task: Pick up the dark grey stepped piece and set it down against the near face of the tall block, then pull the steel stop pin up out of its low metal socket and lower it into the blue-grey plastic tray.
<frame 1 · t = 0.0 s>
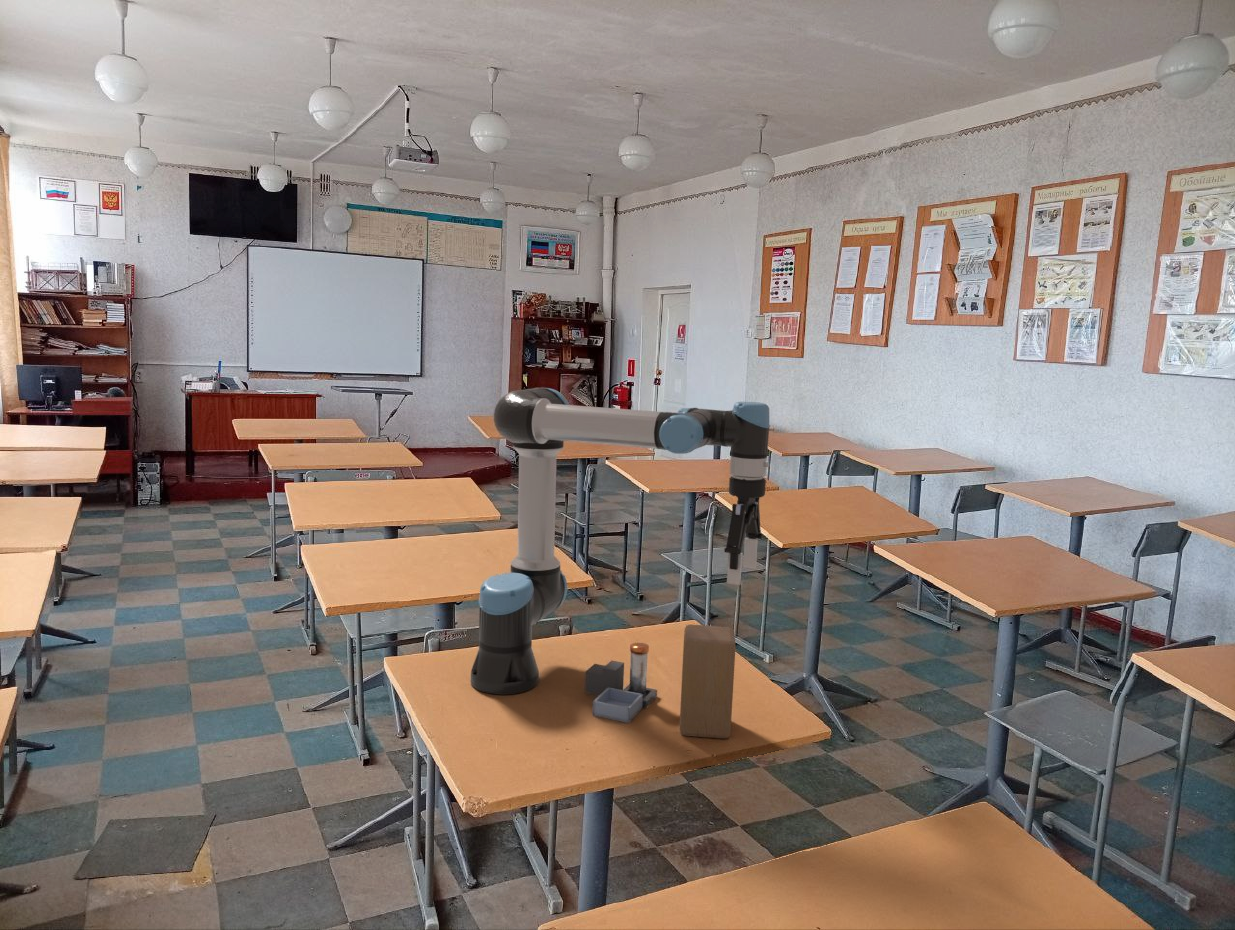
hand: (741, 575, 184), 28 cm above the table, fingers open, 13 cm apart
pin: (638, 672, 186), in the socket
tray: (617, 711, 181), on the table
socket: (637, 699, 187), on the table
block: (704, 728, 175), on the table
dark grey stepped piece: (604, 691, 190), on the table
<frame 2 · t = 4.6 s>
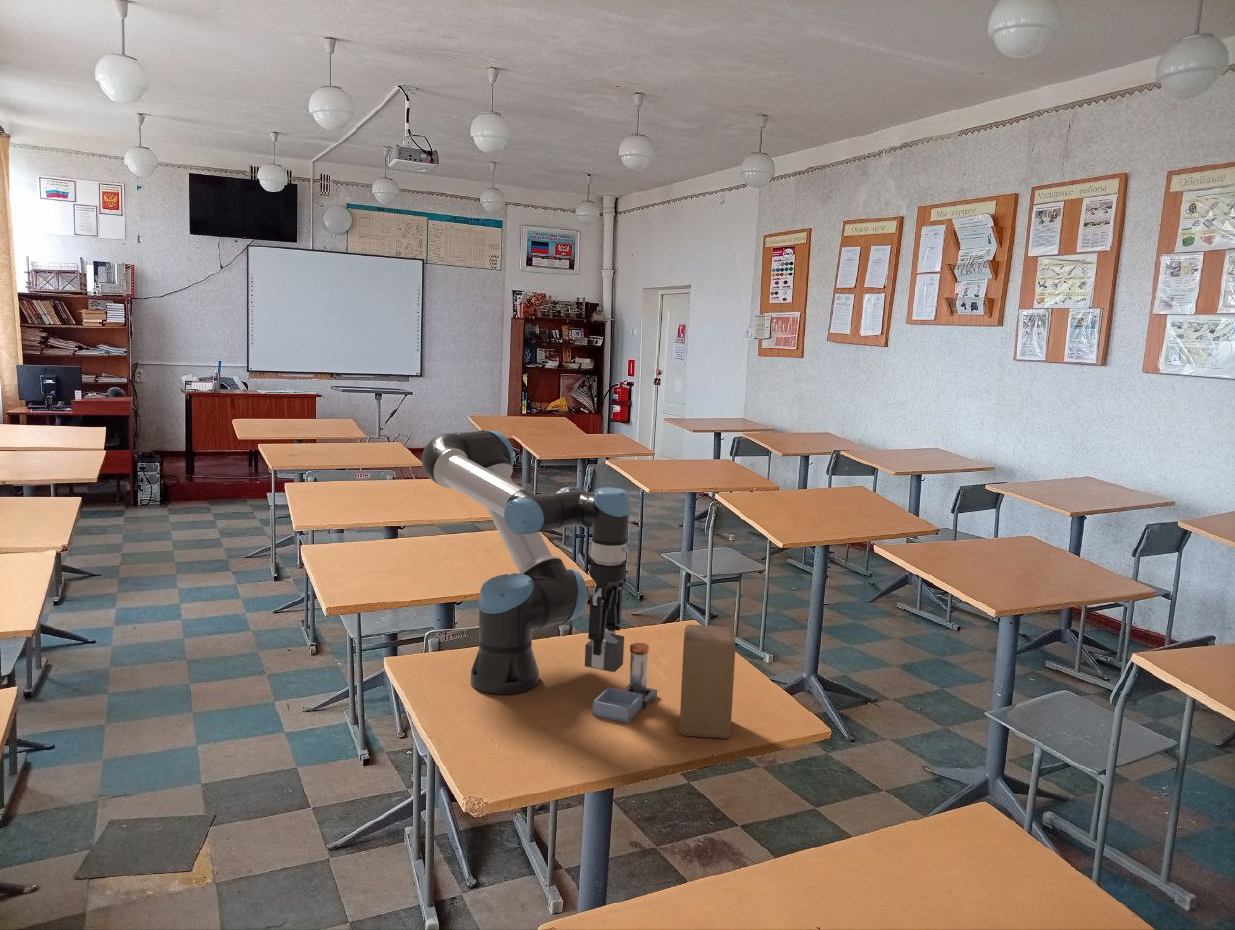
hand: (602, 662, 190), 6 cm above the table, fingers closed on dark grey stepped piece, 5 cm apart
dark grey stepped piece: (603, 665, 190), point 6 cm above the table, touching gripper
everything else where it was.
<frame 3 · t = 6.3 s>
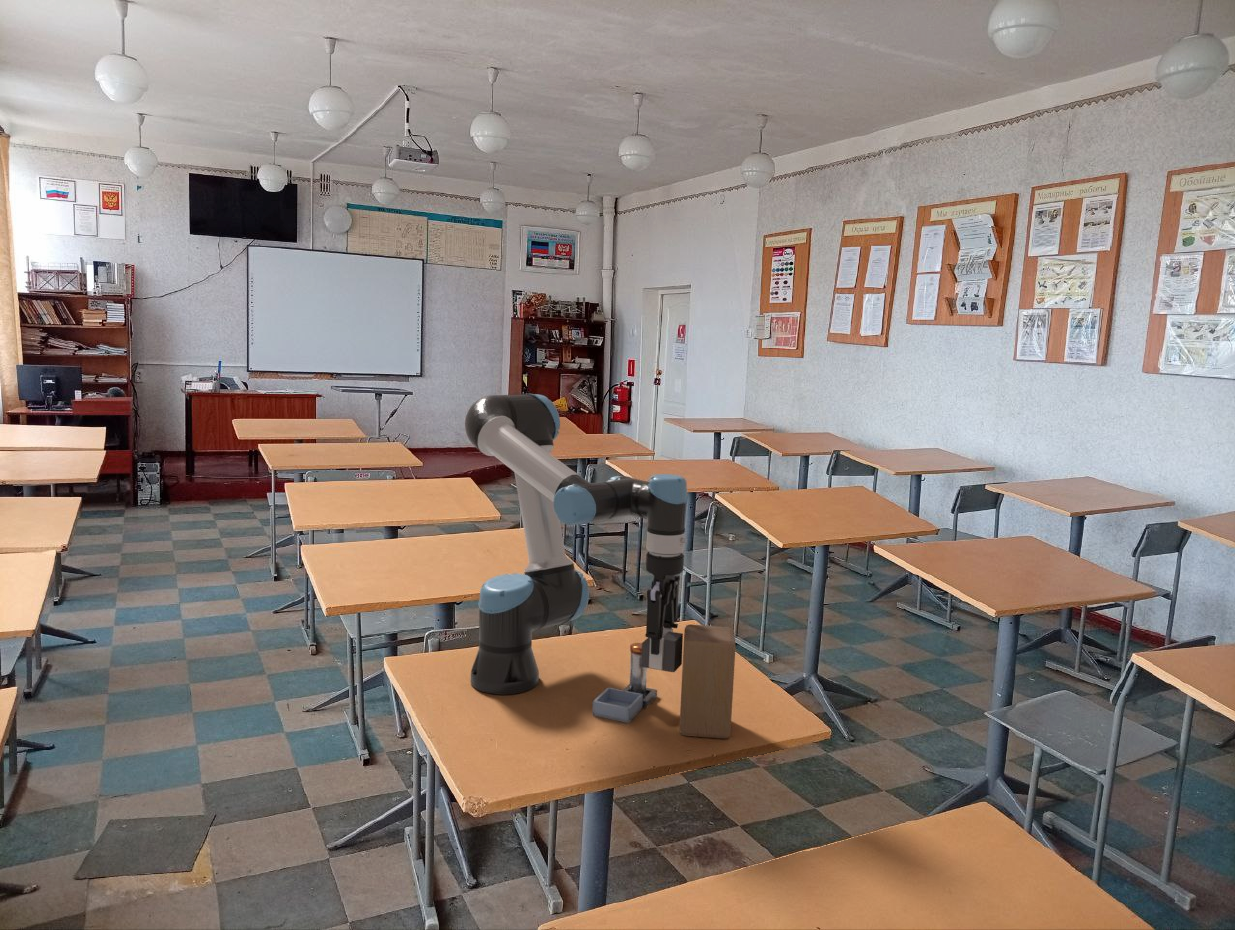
hand: (660, 663, 177), 12 cm above the table, fingers closed on dark grey stepped piece, 5 cm apart
dark grey stepped piece: (661, 665, 177), point 11 cm above the table, touching gripper
everything else where it was.
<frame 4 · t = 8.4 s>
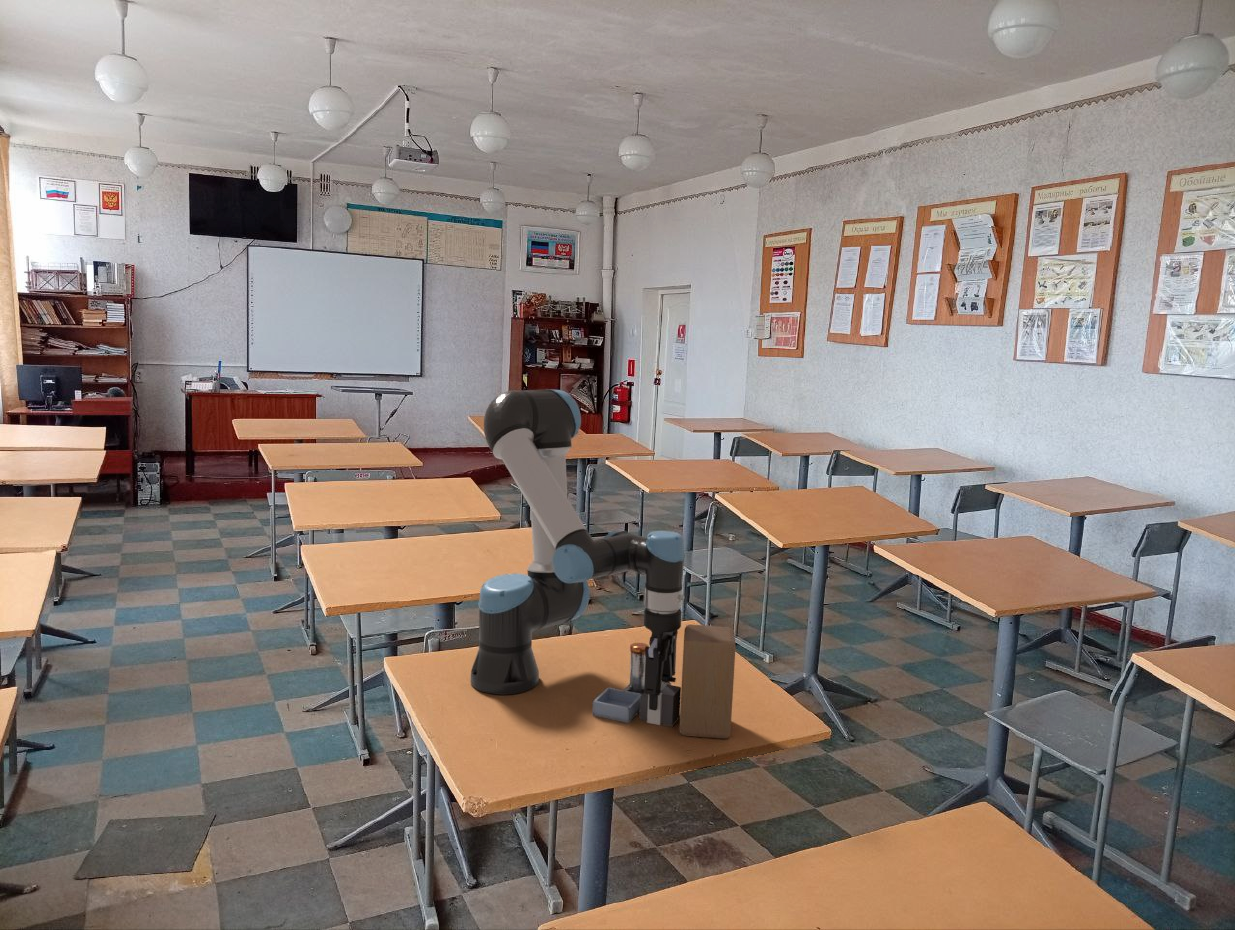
hand: (658, 717, 178), 0 cm above the table, fingers open, 5 cm apart
dark grey stepped piece: (659, 718, 178), on the table, touching gripper
everything else where it was.
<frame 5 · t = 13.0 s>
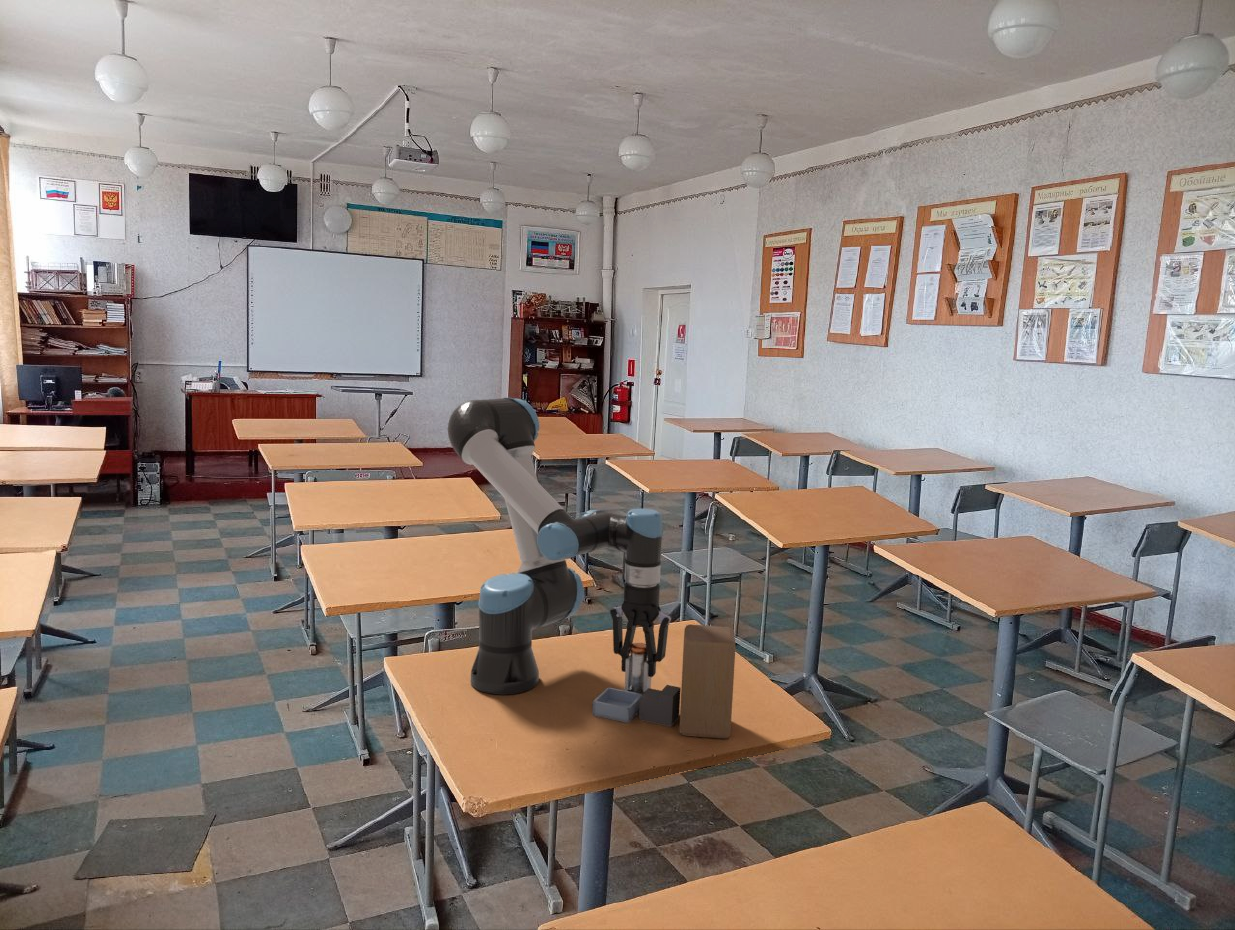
hand: (637, 687, 187), 3 cm above the table, fingers closed on pin, 3 cm apart
pin: (638, 672, 186), in the socket, touching gripper
dark grey stepped piece: (659, 718, 178), on the table
everything else where it was.
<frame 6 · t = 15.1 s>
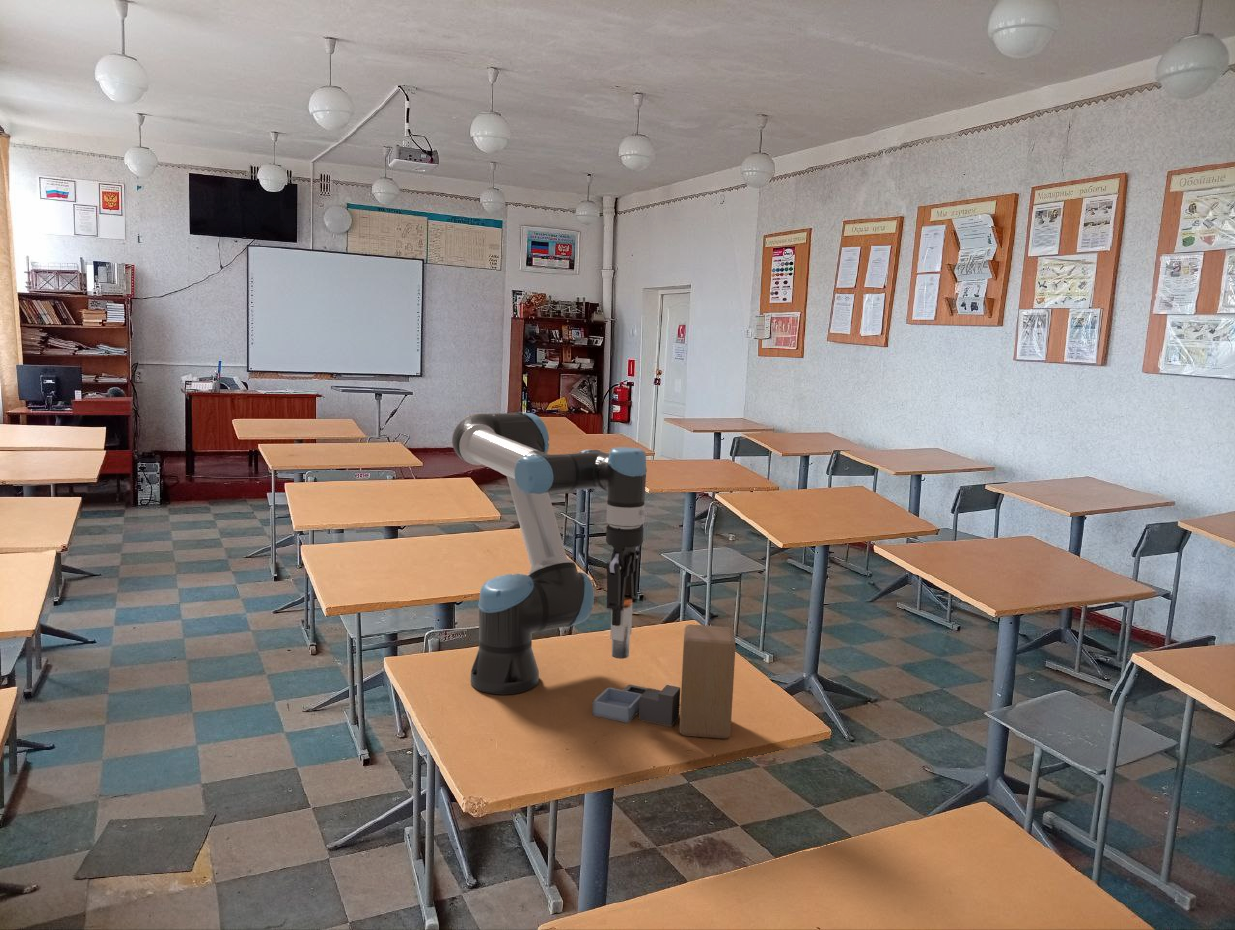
hand: (620, 636, 178), 16 cm above the table, fingers closed on pin, 3 cm apart
pin: (621, 627, 178), point 18 cm above the table, touching gripper
everything else where it was.
when the fingers open (4 cm above the table, at t = 17.5 s): pin stays where it is, resting on tray.
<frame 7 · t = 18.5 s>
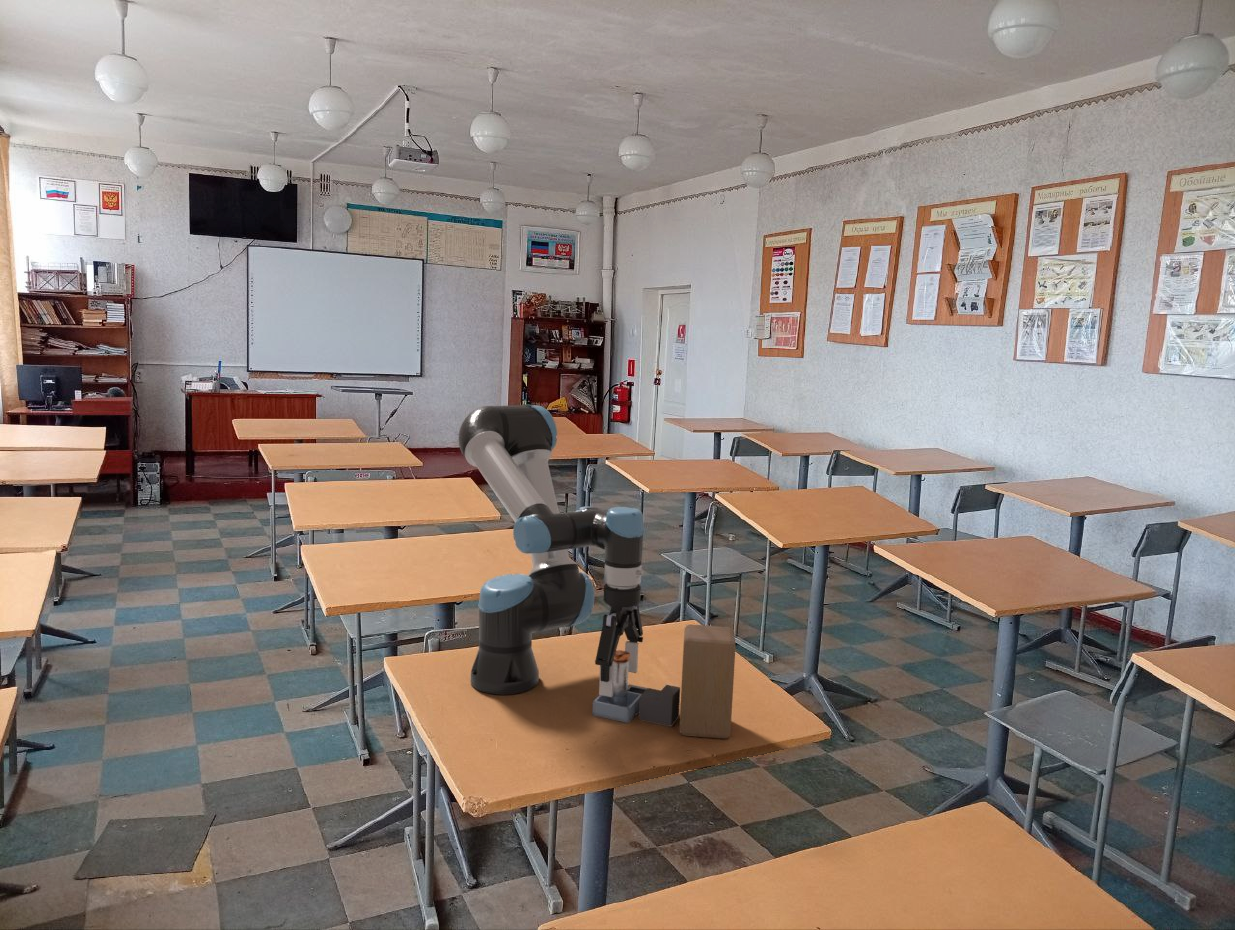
hand: (618, 683, 180), 6 cm above the table, fingers open, 13 cm apart
pin: (619, 681, 180), in the tray, point 7 cm above the table
everything else where it was.
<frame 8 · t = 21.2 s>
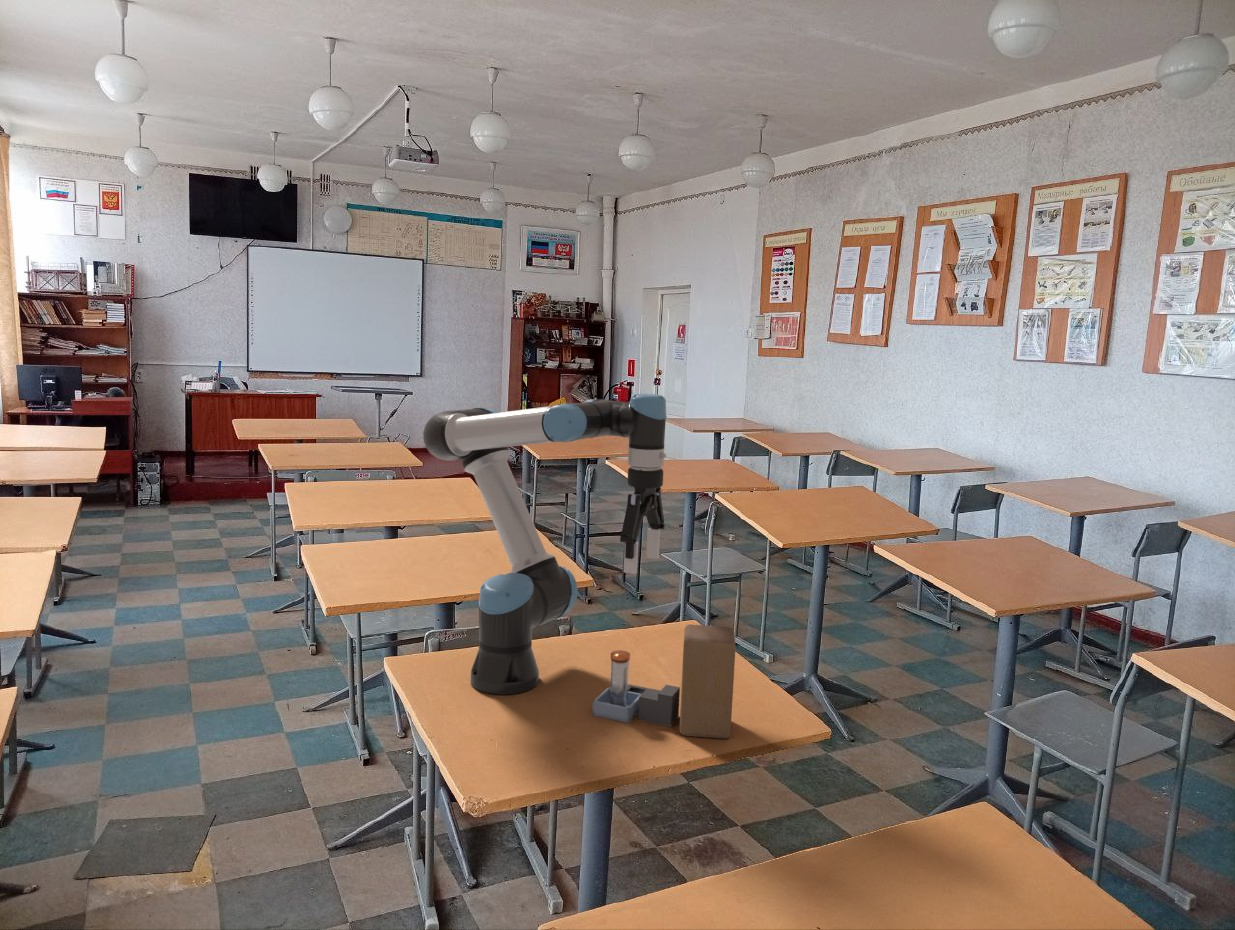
hand: (641, 565, 186), 29 cm above the table, fingers open, 13 cm apart
nothing on the table moved.
at the end: dark grey stepped piece inside the target area (0.1 cm from its centre), on the table; pin inside the target area (0.1 cm from its centre), point 6.6 cm above the table; the gripper is holding nothing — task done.
